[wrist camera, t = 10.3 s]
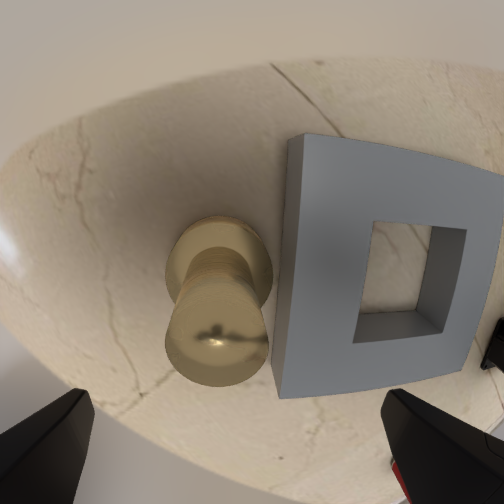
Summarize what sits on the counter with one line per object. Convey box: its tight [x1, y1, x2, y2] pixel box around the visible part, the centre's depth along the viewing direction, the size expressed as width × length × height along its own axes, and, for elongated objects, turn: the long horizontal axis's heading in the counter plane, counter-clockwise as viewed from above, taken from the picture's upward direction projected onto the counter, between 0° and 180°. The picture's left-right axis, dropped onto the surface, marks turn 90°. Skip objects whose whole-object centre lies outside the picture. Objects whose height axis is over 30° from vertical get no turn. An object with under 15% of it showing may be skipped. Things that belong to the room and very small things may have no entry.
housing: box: [271, 133, 504, 399], centre depth 19 cm, size 16×16×4 cm
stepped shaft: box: [165, 216, 273, 387], centre depth 15 cm, size 6×6×10 cm
